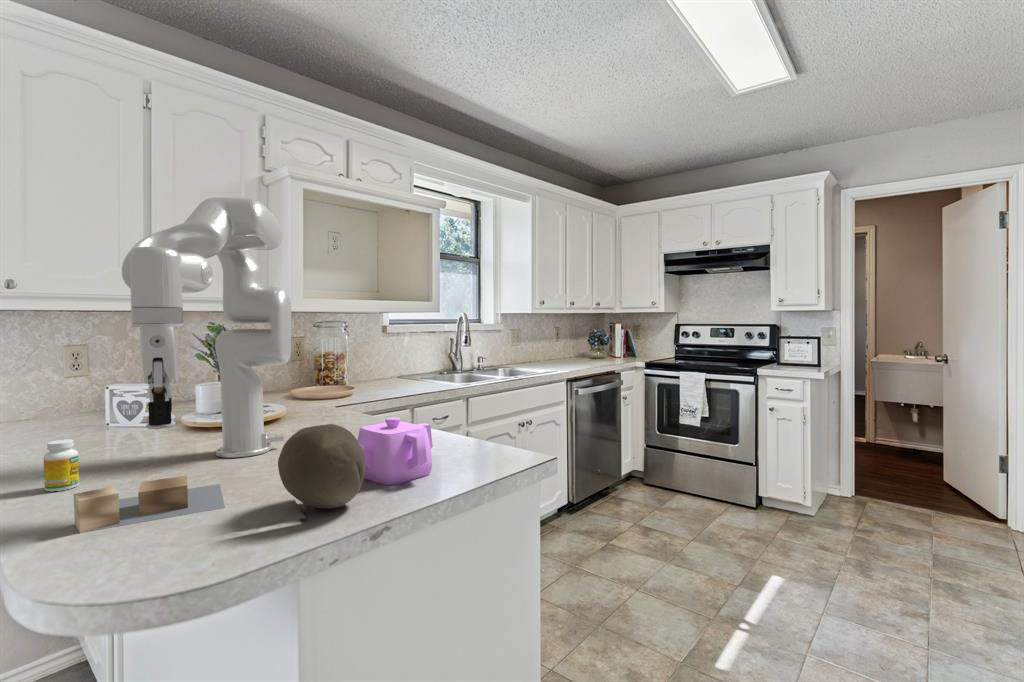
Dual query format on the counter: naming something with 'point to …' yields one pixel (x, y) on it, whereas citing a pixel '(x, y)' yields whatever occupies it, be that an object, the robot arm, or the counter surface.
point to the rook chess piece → (161, 425)
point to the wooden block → (163, 495)
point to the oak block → (96, 509)
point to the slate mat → (197, 502)
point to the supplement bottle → (61, 466)
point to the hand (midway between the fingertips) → (160, 421)
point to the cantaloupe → (322, 466)
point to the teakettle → (396, 451)
